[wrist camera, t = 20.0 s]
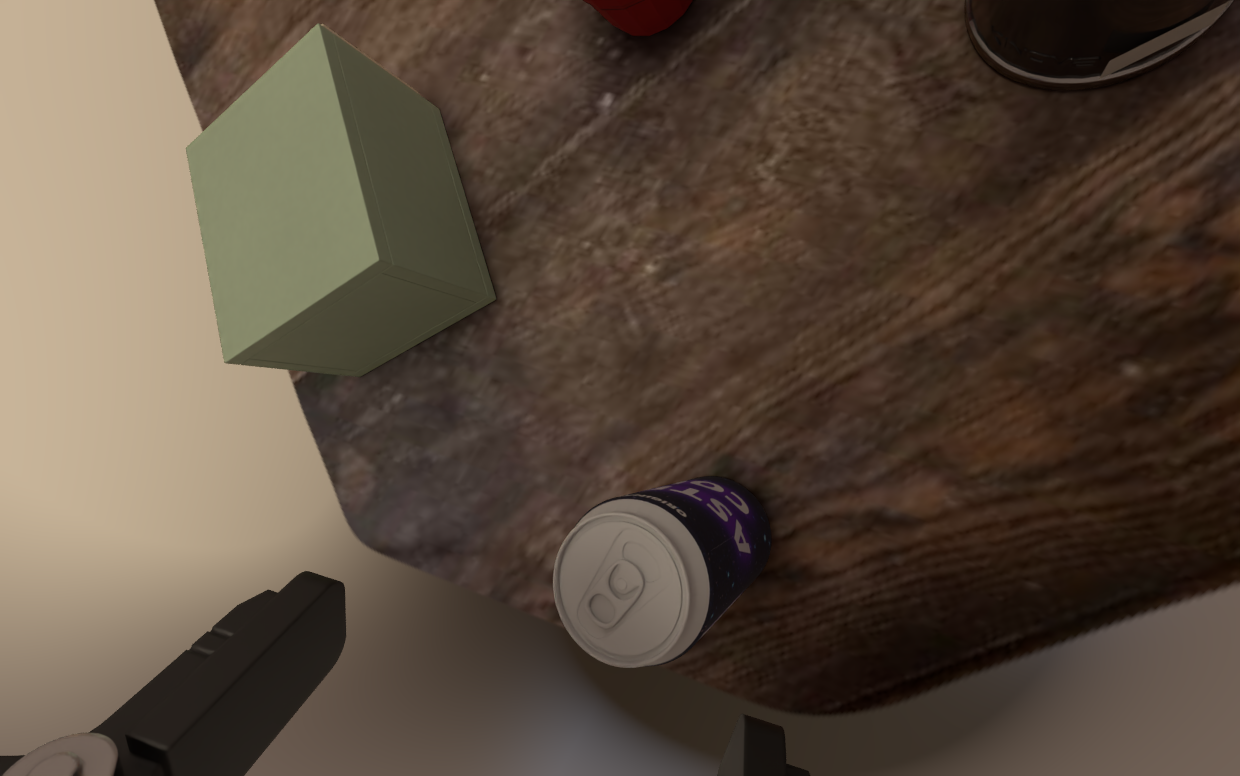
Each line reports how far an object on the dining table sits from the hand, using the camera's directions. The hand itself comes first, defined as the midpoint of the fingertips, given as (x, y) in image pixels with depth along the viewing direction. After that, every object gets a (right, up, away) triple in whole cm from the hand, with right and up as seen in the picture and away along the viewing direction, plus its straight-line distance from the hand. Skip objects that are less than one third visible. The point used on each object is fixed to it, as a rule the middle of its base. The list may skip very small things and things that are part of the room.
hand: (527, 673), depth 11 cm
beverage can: (+7, -2, +18) cm, 20 cm away
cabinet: (-14, +15, +29) cm, 36 cm away
